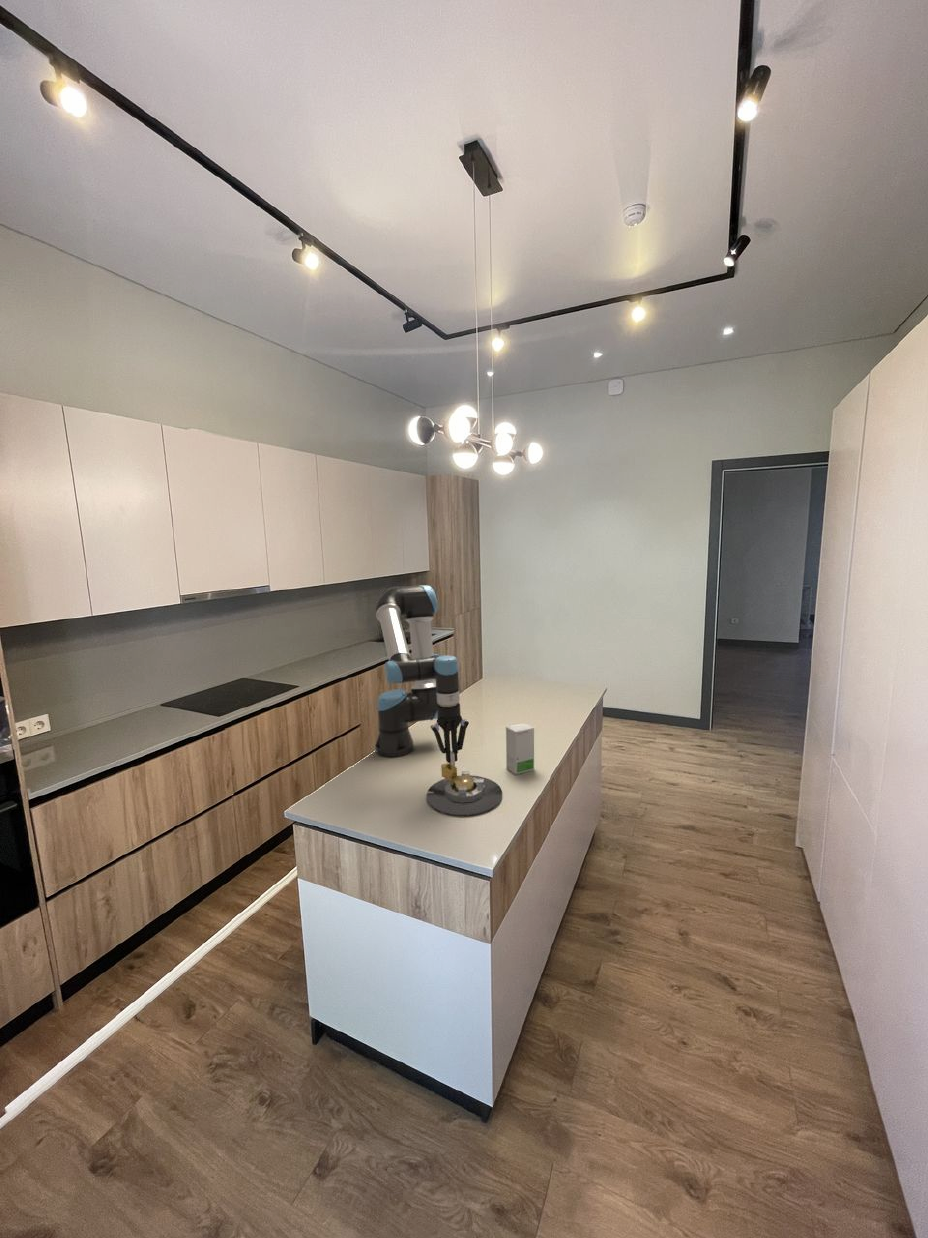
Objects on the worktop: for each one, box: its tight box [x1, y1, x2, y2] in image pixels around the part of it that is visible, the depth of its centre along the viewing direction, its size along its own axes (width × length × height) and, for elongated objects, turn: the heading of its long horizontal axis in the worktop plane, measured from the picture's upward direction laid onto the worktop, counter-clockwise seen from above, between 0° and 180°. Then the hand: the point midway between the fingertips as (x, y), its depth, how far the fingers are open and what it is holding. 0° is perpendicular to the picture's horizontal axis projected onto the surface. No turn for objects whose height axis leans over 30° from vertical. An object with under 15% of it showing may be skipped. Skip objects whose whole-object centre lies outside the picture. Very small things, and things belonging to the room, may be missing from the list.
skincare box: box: [505, 722, 535, 775], centre depth 170 cm, size 8×7×16 cm
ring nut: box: [440, 762, 485, 803], centre depth 154 cm, size 17×13×6 cm
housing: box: [426, 774, 503, 818], centre depth 153 cm, size 24×24×6 cm
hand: (452, 770), depth 161 cm, fingers closed
